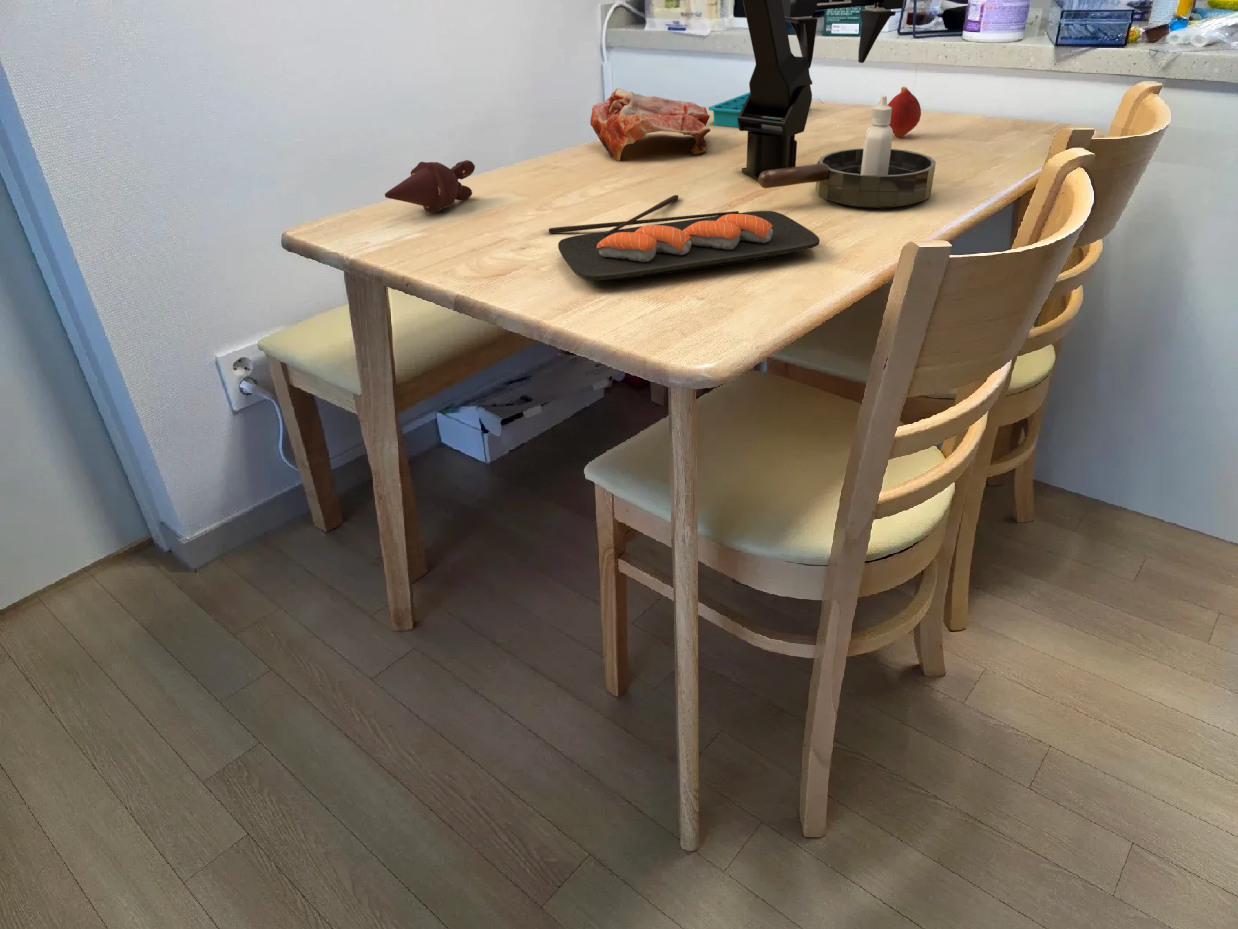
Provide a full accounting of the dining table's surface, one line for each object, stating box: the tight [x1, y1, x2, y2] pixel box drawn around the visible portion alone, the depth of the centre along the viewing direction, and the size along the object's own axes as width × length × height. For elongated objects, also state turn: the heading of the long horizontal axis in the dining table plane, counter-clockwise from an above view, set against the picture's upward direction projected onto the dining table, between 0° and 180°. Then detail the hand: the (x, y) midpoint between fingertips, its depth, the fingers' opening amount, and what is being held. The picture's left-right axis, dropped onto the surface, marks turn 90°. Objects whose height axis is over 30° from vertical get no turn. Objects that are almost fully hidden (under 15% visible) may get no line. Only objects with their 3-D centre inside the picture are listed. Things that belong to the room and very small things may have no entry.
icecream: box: [384, 159, 476, 214], centre depth 115 cm, size 7×7×15 cm
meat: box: [589, 87, 711, 162], centre depth 140 cm, size 21×21×10 cm
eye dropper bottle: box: [861, 95, 894, 175], centre depth 110 cm, size 4×6×12 cm
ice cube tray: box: [708, 91, 782, 128], centre depth 159 cm, size 12×20×3 cm, turn 145°
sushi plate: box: [548, 194, 821, 281], centre depth 102 cm, size 29×30×4 cm
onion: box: [887, 86, 922, 139], centre depth 139 cm, size 6×6×8 cm
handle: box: [757, 163, 830, 189], centre depth 109 cm, size 10×2×2 cm, turn 107°
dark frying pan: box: [815, 147, 937, 209], centre depth 112 cm, size 15×15×4 cm
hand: (834, 65), depth 127 cm, fingers open, 9 cm apart
